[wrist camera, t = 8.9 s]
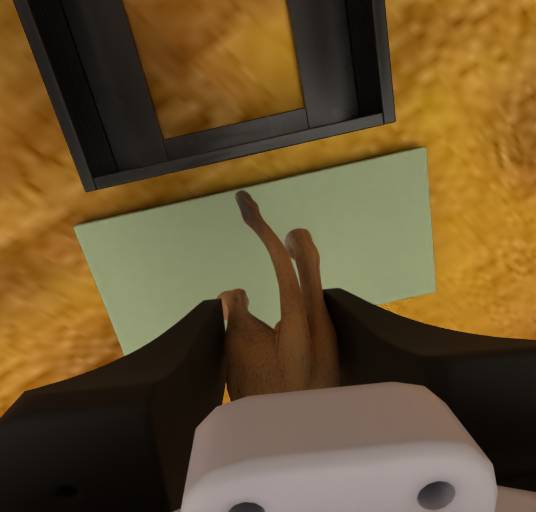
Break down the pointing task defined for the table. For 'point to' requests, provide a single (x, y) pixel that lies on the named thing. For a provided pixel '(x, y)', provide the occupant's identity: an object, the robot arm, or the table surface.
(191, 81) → the table surface
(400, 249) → the sage mat
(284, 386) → the lion figurine
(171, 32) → the table surface
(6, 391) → the table surface
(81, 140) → the picture frame
